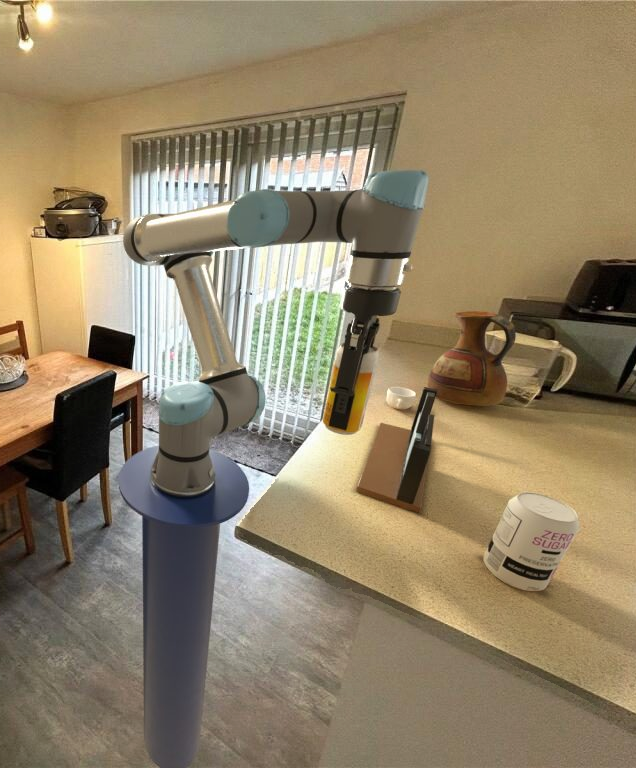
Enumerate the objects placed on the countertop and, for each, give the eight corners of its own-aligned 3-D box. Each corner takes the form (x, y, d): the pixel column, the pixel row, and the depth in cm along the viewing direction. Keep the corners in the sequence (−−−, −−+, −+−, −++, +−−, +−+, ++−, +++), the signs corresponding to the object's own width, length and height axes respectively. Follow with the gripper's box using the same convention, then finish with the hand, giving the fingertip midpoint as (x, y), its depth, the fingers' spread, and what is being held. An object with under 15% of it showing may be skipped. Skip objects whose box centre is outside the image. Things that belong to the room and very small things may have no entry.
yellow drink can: (323, 416, 73) (338, 339, 67) (360, 423, 70) (380, 344, 64) (320, 431, 68) (337, 349, 62) (360, 439, 65) (381, 355, 59)
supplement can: (501, 550, 74) (532, 485, 68) (556, 586, 66) (596, 517, 60) (470, 561, 71) (500, 495, 65) (524, 600, 64) (563, 530, 58)
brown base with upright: (356, 491, 90) (371, 434, 84) (379, 426, 116) (391, 379, 110) (419, 513, 83) (440, 452, 77) (428, 439, 110) (444, 389, 104)
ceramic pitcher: (439, 384, 144) (465, 303, 132) (509, 404, 128) (546, 314, 116) (412, 396, 135) (437, 310, 123) (484, 420, 119) (521, 324, 107)
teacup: (385, 399, 133) (389, 384, 131) (412, 404, 129) (416, 390, 127) (382, 410, 126) (386, 395, 124) (411, 416, 122) (415, 401, 119)
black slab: (400, 482, 88) (426, 401, 80) (407, 450, 99) (430, 377, 91) (407, 484, 87) (433, 403, 79) (413, 452, 99) (436, 378, 91)
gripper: (393, 299, 50) (354, 450, 60) (409, 279, 64) (375, 405, 73) (330, 293, 55) (303, 435, 64) (357, 276, 68) (332, 395, 77)
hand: (342, 419), depth 69 cm, fingers closed on yellow drink can, 6 cm apart
